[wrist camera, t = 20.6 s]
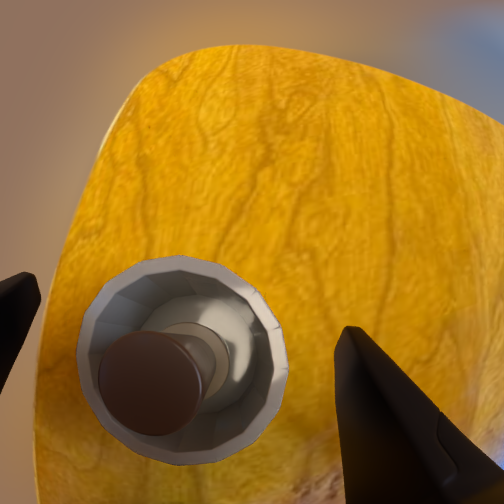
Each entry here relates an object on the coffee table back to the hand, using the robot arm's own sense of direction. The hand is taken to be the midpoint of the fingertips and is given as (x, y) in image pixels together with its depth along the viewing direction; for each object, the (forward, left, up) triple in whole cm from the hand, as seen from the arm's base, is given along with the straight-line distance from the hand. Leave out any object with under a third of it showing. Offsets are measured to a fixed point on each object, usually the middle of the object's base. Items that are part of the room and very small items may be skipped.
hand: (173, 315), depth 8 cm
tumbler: (-1, -1, -7) cm, 8 cm away
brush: (-1, -1, -7) cm, 7 cm away
